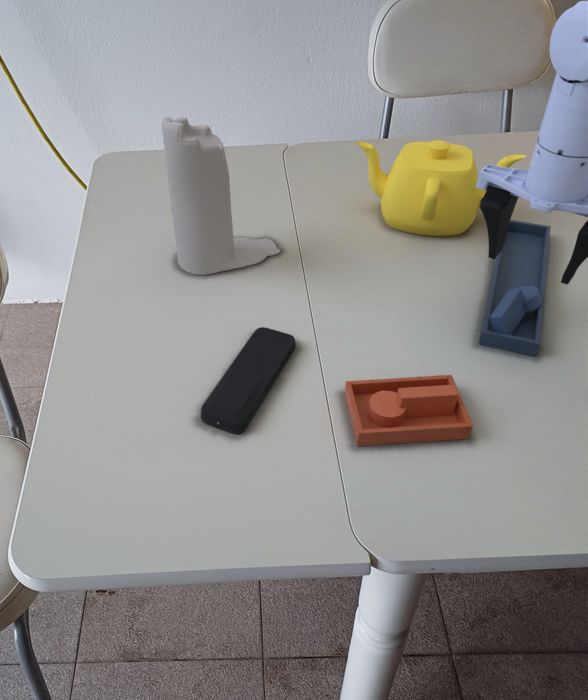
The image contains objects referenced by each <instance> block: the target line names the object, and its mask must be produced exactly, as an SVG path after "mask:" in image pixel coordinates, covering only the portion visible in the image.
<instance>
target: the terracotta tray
mask: <svg viewBox="0 0 588 700" xmlns="http://www.w3.org/2000/svg"><path fill="white" fill-rule="evenodd" d="M441 385H455V387H456V389H457V392H458V394H459V395H458V399H457V402H456V406H455V409H454V413H453V415H444V416H429V417H413V418H404V420H403V422H402V423H401V424H400V425H398V426H396V427H392V428H385V427H381V426H378V425H376V424H375V423H373V422H372V421H371V419H370V418H369V416H368V408H369V401H370V398H371V396H372V395H373V394H375V393H376V392H379V391H392V392H395V393H398V388H410V387H425V386H441ZM344 399H345V402H346V407H347V411H348V415H349V419H350V424H351V427H352V431H353V435H354V440H355V444H356V446H357V447H362V446H363V447H364V446H379V445H391V444H392V445H393V444H394V445H395V444H409V443H410V444H411V443H424V442H425V443H426V442H440V441H455V440H457V441H458V440H470V439H471V434H472V431H473V428H474V424H473V422H472V420H471V418H470V415H469V413H468V410H467V408H466V405H465V403H464V401H463V398H462V396H461V394H460V392H459V389H458V387H457V385H456V382H455V380H454V377H453V375H452V374H442V375H440V374H439V375H426V376H411V377H395V378H394V377H393V378H380V379H379V378H378V379H364V380H363V379H362V380H347V381H345V385H344Z"/></svg>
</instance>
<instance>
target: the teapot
mask: <svg viewBox="0 0 588 700" xmlns="http://www.w3.org/2000/svg"><path fill="white" fill-rule="evenodd" d="M355 144H356V145H357V146H358V147H360V148H361V149H362V150H363V151H364V153H365V154H366V158H367V163H368V165H367V166H368V182H369V185H370V189H371V190H372V192H374V194H375V195H376V196H377V197H379V198H380V210H381V215H382V217H383V219H384V221H385V223H386V225H387V226H389V227H390V228H392V229H394V230H398V231H401V232H405V233H410V234H415V235H421V236H430V237H450V236H458V235H461V234H463V233H465V232H466V231H467V230H468V229H469V228H470V226H471V225H473V223H474V222H475V220H476V217H477V213H478V209H479V208H480V201H481V199H482V198H483V197H484V195H485V193H486V190H481V189H477V188H476V185H477V181H478V176H479V173H478V170H477V169H478V168H477V165H476V160H475V157H474V153H473V151H472V149H471V148H469V147H467V146H464V145H460V144H455V143H449V142H447V141H446V140H441V139H436V140H435V139H433V140H431V141H412V142H408V143H405V145H404V146H403V147H402V148H401V149H400V151H399V153H398V155H397V156H396V158H395V159H394V162H393V164H392V165H391V168H390V170H389V171H388V174H386V173H385V172H384V171H382V169H381V166H380V155H379V152H378V149H377V148H376V147H375V146H374V145H373V144H371V143H368V142H365V141H361V140H357V141H355ZM526 157H527V155H526V154H510V155H506V156H504V157H502V158H501V159H500V160H499V161H498V162H497V163H496V165H495V166H499V167H506V168H511V167H512V166H513V165H514V164H516V163H517V162H519V161H521V160H523V159H525V158H526Z"/></svg>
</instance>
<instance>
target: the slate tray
mask: <svg viewBox="0 0 588 700" xmlns="http://www.w3.org/2000/svg"><path fill="white" fill-rule="evenodd" d="M550 237H551V225H547V224H546V225H545V224H539V223H532V222H527V221H521V220H514V219H510V222H509V226H508V231H507V235H506V240H505V243H504V246H503V249H502V251H501V252H500V253H499V255H498V256H497V257H496V258H495V259H494V261H493V265H492V266H493V267H492V272H491V277H490V282H489V288H488V293H487V298H486V304H485V308H484V314H483V317H482V318H483V319H482V324H481V328H480V334H479V339H478V345H480V346H485V347H489V348H493V349H498V350H502V351H507V352H513V353H516V354H521V355H525V356H530V357H536V355H537V353H538V350H539V347H540V346H541V335H542V325H543V315H544V314H543V313H544V304H545V294H546V293H545V292H546V282H547V271H548V259H549V250H550V249H549V248H550ZM522 286H535V287H537V288H538V290H539V294H540V297H541V300H542V303H541V305H540V306H539V307H538V308H537V309H535V310H533V311H531V312H528V313H526V314H525V315H524V317H523V318H522V320H521V321H520V323H519V324H518V326H517V327H516V329H515V331H514V332H513V334H512V335H508V334H503V333H498V332H494V329H493V326H492V323H491V320H490V316H491V315H492V313H493V312H494V310H495V309H496V307H497V306H498V305H499V303H500V302H501V300H502V299H503V297H504V296H505V295H506V293H507V292H508V290H509V289H516V288H518V287H522Z"/></svg>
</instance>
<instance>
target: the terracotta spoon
mask: <svg viewBox="0 0 588 700" xmlns="http://www.w3.org/2000/svg"><path fill="white" fill-rule="evenodd" d="M456 387H457V386H456ZM456 387H455V385H441V386H425V387H410V388H398V393H395V392H392V391H379V392H376V393H375V394H373V395H372V396H371V398H370V401H369V408H368V416H369V418H370V419H371V421H372V422H373V423H375V424H376V425H378V426H381V427H385V428H392V427H396V426H398V425H400V424H401V423H402V422H403V420H404V418H413V417H429V416H444V415H453V413H454V409H455V406H456V402H457V399H458V395H459V394H460V393H459V394H458V392H457V389H458V388H457V389H456Z"/></svg>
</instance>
